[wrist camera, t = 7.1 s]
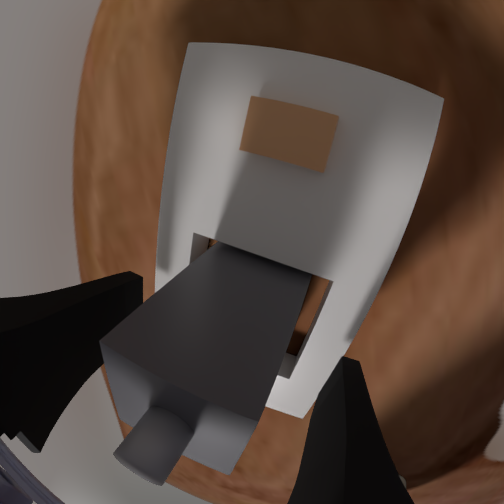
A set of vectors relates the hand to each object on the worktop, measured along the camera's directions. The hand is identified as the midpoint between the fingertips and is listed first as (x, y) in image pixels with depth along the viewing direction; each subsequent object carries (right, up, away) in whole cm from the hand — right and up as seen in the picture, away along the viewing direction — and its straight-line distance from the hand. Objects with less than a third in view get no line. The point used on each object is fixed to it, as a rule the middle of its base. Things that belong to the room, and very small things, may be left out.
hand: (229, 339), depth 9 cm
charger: (+1, +2, +2) cm, 3 cm away
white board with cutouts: (+1, +3, +2) cm, 4 cm away
